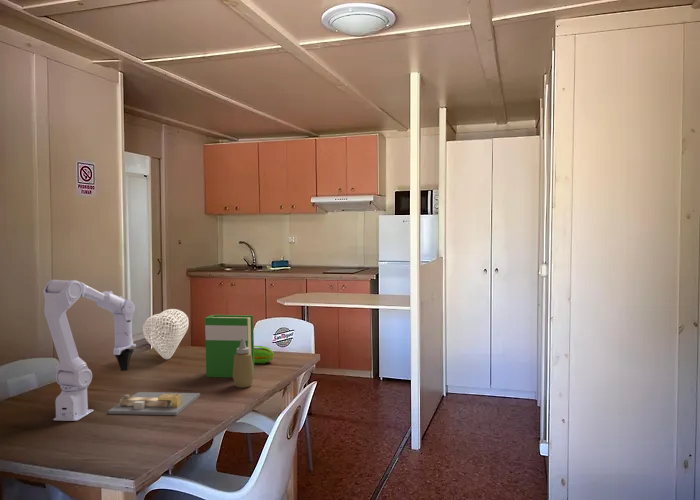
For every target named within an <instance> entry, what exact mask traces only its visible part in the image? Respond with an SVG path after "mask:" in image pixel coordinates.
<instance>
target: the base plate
mask: <svg viewBox="0 0 700 500" xmlns="http://www.w3.org/2000/svg"><path fill="white" fill-rule="evenodd" d="M162 394H182V405H180V406H179V407H178V408H172V403H171V404H170V405H169V406H168V407H154V406H145V408H143V409H134V406H120V403H118V404H117V405H115V406H113V407H112V408H110V409H108V411H107V412H108V413H107V414H108V415H110V414H111V415H143V416H144V415H147V416H148V415H151V416H152V415H153V416H154V415H155V416H156V415H157V416H178V415H179V414H180V413H181V412H183V411H184V410H185V409H186V408H187V407H188V406H190V405H191V404H192V403H193V402H195V401H196V400H198V399H199V398H200V397H201V393H200V392H156V391H155V392H154V391H153V392H151V391H147V392H146V391H138V392H136V393H135V394H132V395H131V396H130V397H151V398H158V397H160V396H161V395H162Z"/></svg>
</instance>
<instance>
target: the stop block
mask: <svg viewBox="0 0 700 500" xmlns="http://www.w3.org/2000/svg"><path fill="white" fill-rule="evenodd" d="M143 408H145V401H136V402H134V409H143Z"/></svg>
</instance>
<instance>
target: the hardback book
mask: <svg viewBox="0 0 700 500" xmlns="http://www.w3.org/2000/svg"><path fill="white" fill-rule="evenodd" d="M204 324H205V325H204V327H205V328H204V329H205V330H204V331H205V333H204V334H205V364H206V365H205V370H206V371H205V373H206V374H205V375H206V377H207V378H232V379H233V366H234V356H235V354H237V348H239V347H240V342H241V339H242V338H244V340H245V344H246V347H248V348H249V353H250V354H252V361H253V369H254V370H255V363H254V348H255V347H254V346H255V345H254V343H255V340H254V339H255V336H254V334H255V333H254V331H255V330H254V315H252V314H249V315H248V314H247V315H246V314H243V315H242V314H241V315H239V314H211V315H209V316H206V317H204Z"/></svg>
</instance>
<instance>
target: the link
mask: <svg viewBox="0 0 700 500" xmlns="http://www.w3.org/2000/svg"><path fill="white" fill-rule="evenodd" d="M136 401H145V406H154V407H168V406H169V405H170V404H171V400H158V398H151V397H131V396H130V394H124V395H122V398H120V399H119V404H120V406H134V402H136Z"/></svg>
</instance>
